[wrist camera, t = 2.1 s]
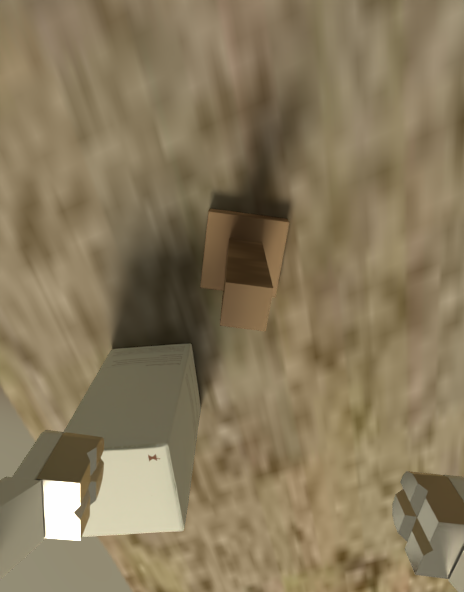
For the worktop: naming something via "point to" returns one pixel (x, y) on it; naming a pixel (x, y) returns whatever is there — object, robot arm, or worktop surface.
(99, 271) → the worktop surface
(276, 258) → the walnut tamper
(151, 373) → the supplement box
